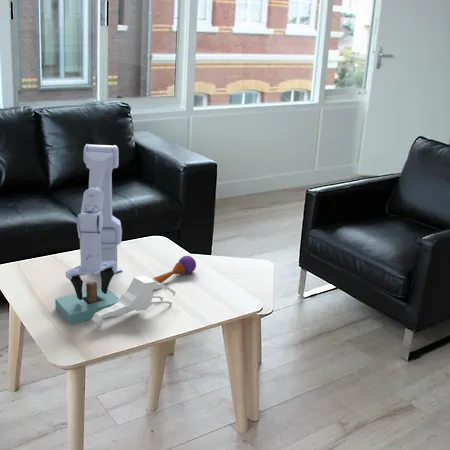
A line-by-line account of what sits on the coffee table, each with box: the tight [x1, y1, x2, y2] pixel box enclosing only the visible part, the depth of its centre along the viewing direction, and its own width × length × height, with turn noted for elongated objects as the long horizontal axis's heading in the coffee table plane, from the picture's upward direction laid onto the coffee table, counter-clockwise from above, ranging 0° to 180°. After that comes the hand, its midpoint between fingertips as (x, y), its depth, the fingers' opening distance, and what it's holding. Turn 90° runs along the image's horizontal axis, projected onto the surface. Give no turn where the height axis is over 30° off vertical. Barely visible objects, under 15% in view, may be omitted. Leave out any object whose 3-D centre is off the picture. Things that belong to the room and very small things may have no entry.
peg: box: [85, 281, 98, 304], centre depth 184 cm, size 3×3×8 cm
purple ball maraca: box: [151, 255, 197, 284], centre depth 205 cm, size 6×6×20 cm
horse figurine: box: [91, 275, 177, 331], centre depth 182 cm, size 5×16×25 cm
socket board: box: [54, 287, 120, 325], centre depth 184 cm, size 11×16×3 cm
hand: (92, 295), depth 184 cm, fingers open, 7 cm apart
